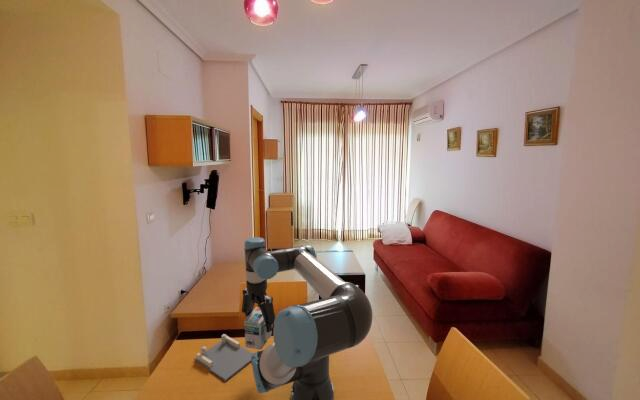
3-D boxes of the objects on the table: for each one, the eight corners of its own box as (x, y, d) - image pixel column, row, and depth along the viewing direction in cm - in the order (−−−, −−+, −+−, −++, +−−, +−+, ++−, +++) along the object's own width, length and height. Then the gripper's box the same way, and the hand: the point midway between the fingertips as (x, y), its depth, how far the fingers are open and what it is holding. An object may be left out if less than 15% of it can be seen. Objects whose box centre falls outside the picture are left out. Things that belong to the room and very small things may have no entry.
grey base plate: (257, 357, 125) (256, 346, 124) (225, 381, 112) (224, 370, 111) (226, 339, 136) (225, 330, 135) (194, 360, 123) (193, 349, 122)
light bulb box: (261, 350, 109) (260, 323, 107) (244, 347, 110) (243, 321, 109) (272, 333, 119) (271, 308, 117) (256, 330, 121) (255, 306, 119)
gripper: (284, 282, 108) (286, 339, 112) (244, 269, 119) (247, 320, 123) (270, 290, 102) (272, 350, 105) (229, 275, 113) (232, 329, 117)
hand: (259, 334), depth 114 cm, fingers closed on light bulb box, 8 cm apart
